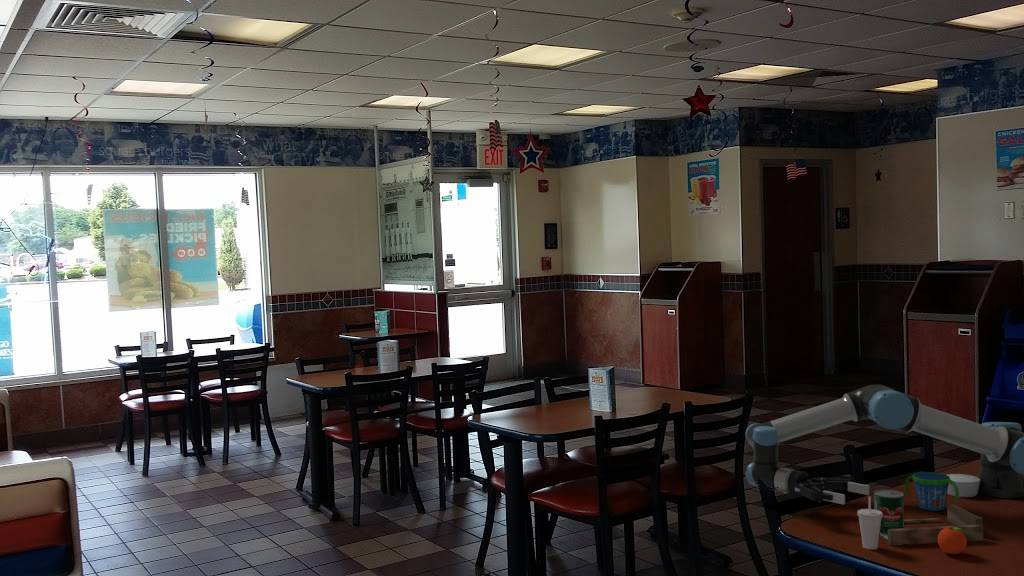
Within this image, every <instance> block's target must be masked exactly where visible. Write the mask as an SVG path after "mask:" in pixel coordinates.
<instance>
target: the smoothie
mask: <svg viewBox="0 0 1024 576" xmlns="http://www.w3.org/2000/svg"><path fill="white" fill-rule="evenodd" d="M871 501H872V497H871V496H868V508H861V509H858V510H857V516H858V523H859V522H860V525H859V528H860V535H861V541H862V542H861V543H862V548H864V549H867V550H877V549H878V547H879V541H880V540H879V539H880V535H879V532H880V524H881V518H882V517H883V516H882V512H881V511H878V510H874V508H872V507H871V506H872V502H871Z"/></svg>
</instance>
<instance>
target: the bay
mask: <svg viewBox="0 0 1024 576" xmlns="http://www.w3.org/2000/svg"><path fill="white" fill-rule="evenodd" d="M946 509H947V510H946V511H947V513H946V514H947V516H946V517H947V518H946V519H947V521H946V522H948V523H949V524H952V525H947V526H946V525H943V526H927V527H926V526H925V527H923V526H922V527H904V528H902V529H888V540H887V545H890V546H902V545H903V544H908V545H923V544H924V545H925V544H938V535H939V533H940V531H941V530H943V529H945V528H947V527H953V528H955V527H956V528H960V529H962V530H960V529H959V530H960V531H961V532H962V533H963V534H964V535H965V537H966V541H967V542H979V541H984V525H983V517H981V516H978V515H977V514H974V513H972V512H970V511H968V510H967V509H964V508H962V507H960V506H958V505H956V504H954V503H953V504H952V503H951V504H947V506H946ZM921 522H925V523H940V522H942V519H941V518H940V517H934V518H933V517H931V518H914V519H913V518H912V519H904V523H906V524H916V523H917V524H922V523H921ZM858 525H859V526H860V522H859V521H858ZM965 531H966V532H967V533H968V534H967V533H966V532H965ZM903 546H904V545H903Z"/></svg>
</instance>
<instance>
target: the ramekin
mask: <svg viewBox="0 0 1024 576" xmlns="http://www.w3.org/2000/svg"><path fill="white" fill-rule="evenodd" d="M946 475H947V476H949V477H950V479H951V480H952V481H954V482H955V484H956V485H957V487H958V490H959V498H974V497H976V496H977V495H978V494H979V493H978V489H979V484H980V479H979V478H977V476H976V475H970V474H963V473H962V474H961V473H949V474H946ZM949 494H950V495H949ZM947 495H949V496H952V497H955V489H954V486H953V485H951V484H950V483H949V486H948V492H947Z"/></svg>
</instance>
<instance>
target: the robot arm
mask: <svg viewBox="0 0 1024 576" xmlns="http://www.w3.org/2000/svg"><path fill="white" fill-rule="evenodd" d="M920 401H921V400H919V398H918V397H916V396H913V395H909V394H907V393H905V392H904V393H903V392H900V391H897V390H895V389H893V388H890V387H888V386H886V385H883V384H870V385H867V386H865V387H864V386H863V387H862V388H859V389H855V390H852V391H850V392H847V393H844V394H843V396H842V397H841V398H838V399H835V400H832V401H830V402H825V403H823V404H822V403H821V404H820V405H817V406H814V407H811V408H807V409H804V410H801V411H798V412H796V413H792V414H789V415H786V416H783V417H780V418H776V419H773V420H770V421H767V422H764V423H757V422H756V423H751V424H750V425H749V426H747V428H746V430H745V433H744V434H745V439H746V441H747V443H748V445H750V446H751V447H752V449H753V461H752V462H750V463H749V464H748V465H747V467H746V471H745V478H746V481H747V482H748V484H749V485H752V486H754V487H758V488H760V487H759V485H760V484H758V480H759V478H760V480H762V481H763V483H764V484H765V485H766V486H767V487H770V488H773V489H774V488H775V489H774V490H773V489H772V490H771V491H775V492H782V493H783V494H784V495H787V494H792V495H794V496H798V497H805V498H806V499H809V500H810V501H811V500H812V501H814V502H817V503H823V501H825V502H831V503H833V504H834V503H835V504H840V505H846V495H845V494H843V493H838V492H835V491H836V490H838V491H841V490H842V491H848V492H850V493H857V494H861V495H865V496H870V485H869V484H861V483H856V482H852V480H851V478H847V479H846V478H845V479H844V478H834V477H833V478H832V477H831V478H830V477H823V476H817V478H816V477H810V475H809V473H808V472H806V471H803V470H797V469H792V468H788V467H781V466H779V443H781V442H782V443H783V442H785V441H789V440H792V439H794V438H797V437H801V436H804V435H808V434H810V433H814V432H818V431H820V430H823V429H827V428H830V427H833V426H836V425H838V424H843V423H845V422H848V421H853V422H860V421H862V420H872V421H873V422H875V423H876V424H877V425H879V426H880V427H882V428H884V429H888V430H895V431H898V432H901V433H905V434H907V433H910V432H912V431H913V432H916V433H919V434H922V435H926V436H929V437H931V438H935V439H937V440H941V441H943V442H946V443H949V444H953V445H954V446H955V445H956V446H958V447H961V448H964V449H967V450H969V451H973V452H976V453H979V454H980V467H979V471H978V473H977V476H976V477H977V478H979V479H980V484H979V489H978V494H981V495H984V496H987V497H992V498H1002V499H1021V498H1024V432H1022V431H1023V429H1022V425H1021V424H1020V423H1018V422H1011V421H1010V422H1008V421H1006V422H1005V421H985V422H983V423H978V422H975V421H972V420H970V419H966V418H963V417H960V416H956V415H955V414H951V413H948V412H946V411H942V410H939V409H936V408H933V407H930V406H927V405H924V404H921V402H920ZM758 476H759V477H758ZM777 487H778V488H777ZM828 490H835V491H834V492H833V491H828Z"/></svg>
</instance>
